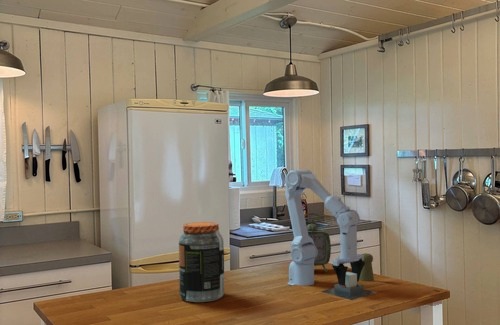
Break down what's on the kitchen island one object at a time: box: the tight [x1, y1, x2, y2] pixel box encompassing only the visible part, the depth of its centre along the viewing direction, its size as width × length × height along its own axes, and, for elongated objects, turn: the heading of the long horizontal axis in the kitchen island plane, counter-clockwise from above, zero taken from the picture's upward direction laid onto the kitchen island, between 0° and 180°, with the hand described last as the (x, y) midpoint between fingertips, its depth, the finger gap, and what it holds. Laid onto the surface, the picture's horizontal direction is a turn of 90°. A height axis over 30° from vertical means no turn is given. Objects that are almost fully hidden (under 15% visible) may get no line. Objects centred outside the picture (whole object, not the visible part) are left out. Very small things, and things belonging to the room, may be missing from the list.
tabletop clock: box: [302, 212, 332, 273], centre depth 211 cm, size 14×9×25 cm, turn 90°
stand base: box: [320, 283, 378, 301], centre depth 176 cm, size 14×14×4 cm
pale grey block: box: [345, 271, 358, 288], centre depth 176 cm, size 4×4×6 cm
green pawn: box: [359, 252, 375, 282], centre depth 193 cm, size 6×6×11 cm
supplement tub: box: [178, 221, 225, 303], centre depth 174 cm, size 16×16×26 cm
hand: (348, 283), depth 176 cm, fingers open, 7 cm apart
